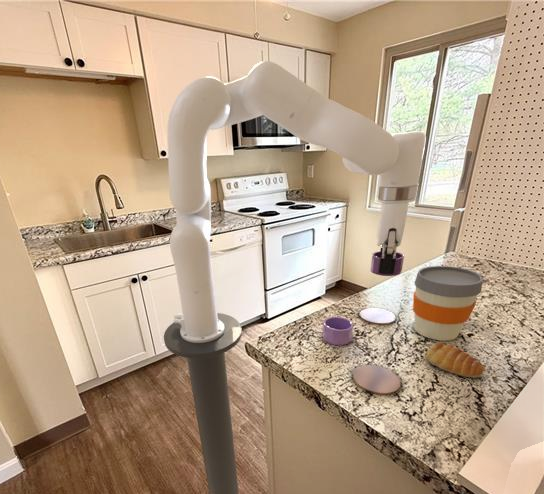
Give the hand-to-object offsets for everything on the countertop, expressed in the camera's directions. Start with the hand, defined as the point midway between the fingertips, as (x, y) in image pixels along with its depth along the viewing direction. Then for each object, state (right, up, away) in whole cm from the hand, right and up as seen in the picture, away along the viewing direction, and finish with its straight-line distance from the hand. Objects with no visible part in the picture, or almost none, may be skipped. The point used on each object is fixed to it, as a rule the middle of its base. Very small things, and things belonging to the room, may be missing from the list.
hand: (385, 267), depth 77 cm
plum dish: (0, -1, 0) cm, 1 cm away
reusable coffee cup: (+13, -16, 0) cm, 20 cm away
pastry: (+7, -22, -11) cm, 26 cm away
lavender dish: (-11, -18, +2) cm, 21 cm away
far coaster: (+3, -13, +9) cm, 16 cm away
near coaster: (-10, -25, -13) cm, 30 cm away
